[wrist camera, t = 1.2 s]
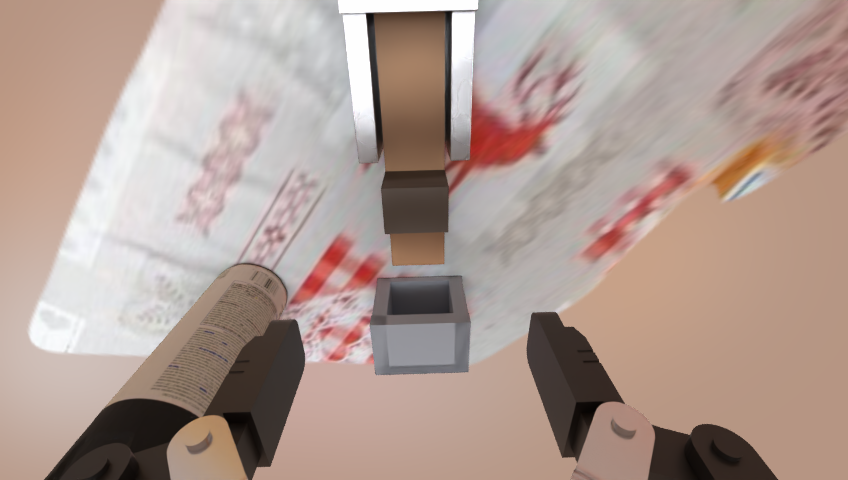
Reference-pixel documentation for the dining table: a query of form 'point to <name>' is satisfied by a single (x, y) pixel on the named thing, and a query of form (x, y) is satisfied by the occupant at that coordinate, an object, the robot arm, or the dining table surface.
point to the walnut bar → (413, 134)
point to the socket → (420, 326)
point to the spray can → (185, 365)
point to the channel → (358, 16)
